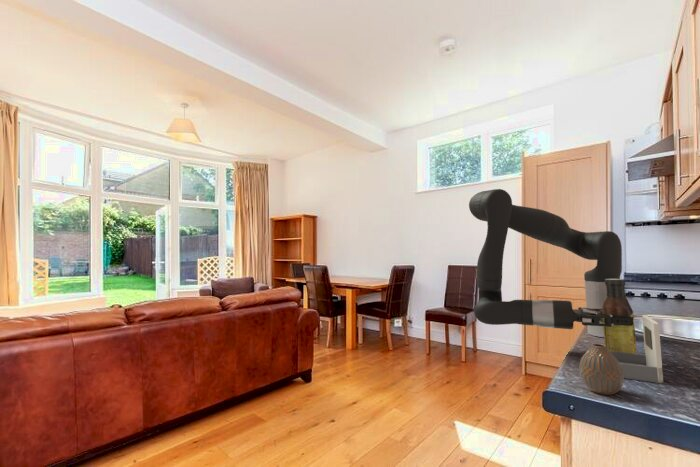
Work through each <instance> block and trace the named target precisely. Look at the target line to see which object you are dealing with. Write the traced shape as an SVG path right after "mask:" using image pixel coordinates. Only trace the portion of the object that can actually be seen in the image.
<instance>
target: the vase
mask: <svg viewBox="0 0 700 467" xmlns="http://www.w3.org/2000/svg"><path fill="white" fill-rule="evenodd" d="M578 367H579V369H578V370H579V374H580V378H581V380H582V382H583V384H584V385H585V386H586V387H587V389H589V390H590V391H592V392H593V393H597V394H600V395H607V396H608V395H609V396H611V395H613V396H614V395H615V394H616V393H618V392H619V391H621V390H622V387H623V384H624V379H625V378H624V377H623V370H622V367H621V365H620V363H619V362H618V360H617V359H616V358H615V357H614V356H613V355H612V353H611V352H610V351H609V350H608V348H607V346H606V345H605V344H604V343H603V344H602V343H591V344H590V347H589V348H588V350H587V351H586V352H585V353H584V354H583V355H582V356H581V358H580V361H579V366H578Z"/></svg>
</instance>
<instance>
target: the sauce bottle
mask: <svg viewBox="0 0 700 467" xmlns="http://www.w3.org/2000/svg"><path fill="white" fill-rule="evenodd" d="M605 284H606V290H607V294H606V295H607V298H606V300H605V301H604V303H603V305H602V309H603V314H611V315H619V316H631V317H632V318H633V325H632V326H627V325H612V326H611V327H607V326H603V328H604V337H603V338H604V339H603V340H604V345H606V346H607V348H608V350H609V351H615V352H625V353H634V354H638V353H637V352H638V351H637V341H636V330H635V329H636V328H635V318H634V316H635V315H634V310H633V309H632V306H631V304H630V303H629V301H628V300H629V299H628V298H627V296H626V289H625V286H626V280H625V279H624V278H620V279H605ZM603 321H604V322H605V318H603Z"/></svg>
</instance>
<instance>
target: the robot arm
mask: <svg viewBox="0 0 700 467" xmlns="http://www.w3.org/2000/svg"><path fill="white" fill-rule="evenodd" d="M468 202H469V203H468V208H469V211H470V213H471V214H472V216H473V218H476V219H477V220H479V221H482V222H487V229H486V230H487V232H486V237H485V240H484V243H483V246H482V248H481V251H480V253H479V255H478V258H477V263H476V264H477V265H476V266H477V267H476V286H477V288H478V300H477V303H476V304H475V305H474V307H473V308H474V309H473V311H474V312H473V313H474V317H475V318H476V319H477V320H478V322H480V323H483V324H485V325H490V326H491V325H492V326H494V325H495V326H496V325H497V326H498V325H501V326H502V325H523V326H524V325H525V326H534V327H540V328H547V329H548V328H549V329H562V330H573V329H574V323H575V322H577V323H581V325H582V326H583V327H584V326H587V334H588V335H590V336H594V337H597V338H598V337H599V338H604V328H603V326H607V327H611V326H612V325H627V326H632V325H633V318H632V317H631V316H619V315H611V314H603V309H602V305H603V303H604V301H605V300H606V298H607V295H606V294H607V290H606V284H605V279H621V274H622V272H623V271H622V270H623V265H622V262H623V258H622V256H623V252H622V251H623V249H622V243H621V239H620V237H619V235H618V234H617V233H615V232H614V231H609V230H607V231H594V232H588V231H587V232H585V231H580V230H577V229H574V228H571V227H570V225H569V223H568V222H567V221H566V220H565V219H564V218H563V217H561V216H559V215H557V214H555V213H552V212H550V211H547V210H543V209H540V208H536V207H530V206H529V207H528V206H522V205H516V204H513V199H512V197H511V195H510V194H509V192H507V190H505V189H501V188H497V189H496V188H495V189H490V190H489V189H488V190H483V191H480V192H477V193H476V194H474V195H473V196H471V198H470V200H469V201H468ZM509 229H511V230H512V231H515V232H517V233H520V234H522V235H525V236H527V237H530V238H531V239H535V240H538V241H539V242H542V243H545V244H549V245H552V246H556V247H559V248H562V249H565V250H567V251H569V252H571V253H572V254H575V255H576V256H578V257H581V258H583V259H585V260H588V261H589V260H591V261H596V266H595V267H593V268H591V270H587V271H586V272H584V274H583V275H584V276H583V277H584V291H585V303H586V304H585V305H586V307H585V306H584V307H583V306H579V307H578V308H577V309H576V308H575V309H573V303H572V302H571V301H570V300H558V299H534V300H533V299H513V300H510V301H509V300H508V301H506V300H505V301H503V294H502V293H503V292H502V285H503V264H504V252H505V247H506V246H505V245H506V240H507V236H508V230H509ZM603 318H605V322H604V321H603Z"/></svg>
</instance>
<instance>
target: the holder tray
mask: <svg viewBox="0 0 700 467" xmlns="http://www.w3.org/2000/svg"><path fill="white" fill-rule="evenodd" d="M641 316H642V317H641V318H642V331H643V334H642V335H643V346H644V354H643V353H642V354H641V353H636V354H634V353H625V352H615V351H610V352H611V353H612V355H613V356H614V357H615V358H616V359H617V360H618V362H619V363H620V365H621V367H622V370H623V377H624V379H627V380H635V381H641V382H649V383H657V384H664V374H663V362H662V350H661V348H662V347H661V346H662V345H661V337H660V335H661V334H660V324H659V322H657V321H655V320H654V319H653V318H651V317H650V316H648V315H644V314H643V315H641Z"/></svg>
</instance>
